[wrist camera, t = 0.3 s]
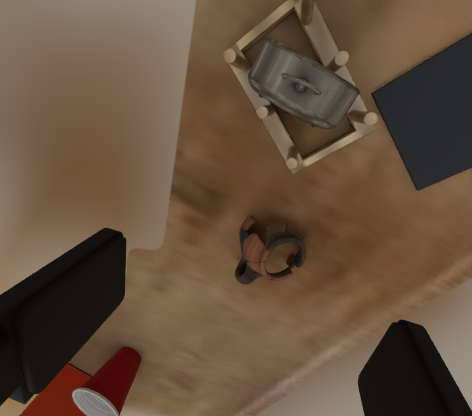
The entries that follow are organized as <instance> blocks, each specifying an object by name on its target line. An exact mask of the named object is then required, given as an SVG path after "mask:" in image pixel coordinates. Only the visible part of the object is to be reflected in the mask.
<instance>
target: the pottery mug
mask: <svg viewBox="0 0 472 416" xmlns="http://www.w3.org/2000/svg"><path fill="white" fill-rule="evenodd" d="M254 223H255V221H254V219H253V218H252V217H249V218H248V219H247V220H246V221H245V222H244V223H243V225H242V227H241V229H240V242H241V251H242V255H243V256H242V259H241V261H240V262H239V264H238V266H237V268H236V271H235V277H236V279H237V281H238V282H239V283H241V284H250V283H251V282H253V281H254V280H255V279H256V278H258V277H262V276H264V277H265V278H267V279H268V280H272V281H280V280H284V279H286V278H289V277H290V276H292V275H293V273H292V271H291V269H292V268H294V266H295V265H296V267H297V268H299V267H301V266H302V265H303V263H304V260H305V257H306V249H305V246H304V244H303V240H302V238H301V235H300V234H299V233H298V232H297V231H295V230H294V229H293V228H292V226H291V225H290V224H288V223H287V224H286V230H285V232H284V233H283V231H282V230H280V229H279V228H276V227H274V226H272V225H269V226H266V227H265V230H266V232H267V233H266V240H265V244H264V243H263V242H262V241H261V240H260V238H259V237H258V235H257V234H254V233H252V234H251V235H249V234H248V233H247V231H248V229H249V228H250V227H251V226H252V225H253V224H254ZM286 242H292V243H295V244H297V245H298V248H299V251H298V253H297V254H296V255H292V254H291V255H290V256H289V257H288V259H287V261H286V263H287V265H289V267H288V268H287V269H285V270H283V271H281V272H279V273H269V272H267V270H266V268H265V261H266V259H267V257H268V255H269V253H270V251H272V250H273V249H274V248H275V247H276V246H278V245H280V244H283V243H286Z"/></svg>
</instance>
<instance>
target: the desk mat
mask: <svg viewBox="0 0 472 416" xmlns="http://www.w3.org/2000/svg"><path fill="white" fill-rule="evenodd" d="M372 96H373V98H374V100H375V102H376V104H377V107H378V109H379V111H380V113H381V115H382V117H383V119H384V121H385V124H386V126H387V128H388V130H389V132H390V134H391V136H392V138H393V141H394V143H395V145H396V147H397V149H398V151H399V153H400V155H401V158H402V160H403V162H404V164H405V166H406V168H407V170H408V172H409V174H410V177H411V179H412V181H413V183H414V185H415V187H416V189H417V190H421V189H423V188H425V187H428V186H430V185H432V184H435V183H437V182H439V181H442V180H444V179H446V178H449V177H451V176H453V175H456V174H458V173H460V172H463V171H465V170H467V169H469V168H472V34H470V35H468V36H467V37H465V38H463V39H462V40H460V41H458V42H457V43H455V44H453V45H452V46H450V47H448V48H447V49H445V50H443V51H442V52H440V53H438V54H437V55H435V56H433V57H432V58H430V59H428V60H427V61H425V62H423V63H422V64H420V65H418V66H417V67H415V68H413V69H412V70H410V71H408V72H407V73H405V74H403V75H402V76H400V77H398V78H397V79H395V80H393V81H392V82H390V83H388V84H387V85H385V86H383V87H382V88H380V89H378V90H377V91H375V92H373V93H372Z"/></svg>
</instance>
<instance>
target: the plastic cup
mask: <svg viewBox="0 0 472 416" xmlns="http://www.w3.org/2000/svg"><path fill="white" fill-rule="evenodd" d="M140 362H141V358H140V356H139V354H138V353H137V352H136V351H135V350H133V349H131V348H128V347H124V348H122V349H120V350H119V351H118V352H117V353H116V354H115V355H114V356H113V357H112V358H111V359H110V360H108V361H107V362H106V363H105V364H104V365H103V366H102V367H101V368H100V369H99V370H98V371H97V372H96V373H95V374H94V375H93V376H92V377H91V378H90V379H89V380H88V381H87V382H86V383H85V384H83V385H82V386H81V387H79V388H78V389H75V390H74V391H73V394H72V397H73V400H74V402H75V403H76V405H77V406H78V408H79V409H80V410H81V411H82V412H84V413H85V414H86V415H87V416H120V412H121V410H122V407H123V405H124V401H125V399H126V397H127V394H128V392H129V390H130V387H131V385H132V383H133V380H134V378H135V375H136V372H137V370H138V368H139V365H140Z"/></svg>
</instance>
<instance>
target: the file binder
mask: <svg viewBox="0 0 472 416" xmlns="http://www.w3.org/2000/svg"><path fill="white" fill-rule="evenodd" d="M90 378H91V377H90V376H88V375H86V374H85V373H83V372H81V371H80V370H78V369H76V368H74V367H73V366H71V365H69V364H66V366H65V367H64V368H63V369H62V370H61V371H60V372H59V374H58V375H57V376H56V377H55V378H54V379H53V380H52V381H51V383H50V384H49V385H48V386H47V387H46V388H45V389H44V390H43V391H42V392H41V393H39V394H38V396H37V397H36V398H35V399H34V400H33V401H32V402H31V403H30V404H29V405H28V407H27V408H26V409H25V410H24V411H23V413H22V414H21V415H20V416H87V415H86V414H85V413H84V412H82V411H81V410H80V409H79V408H78V406H77V405H76V403H75V402H74V400H73V397H72V394H73V391H74V390H75V389H78V388H79V387H81V386H82V385H83V384H85V383H86V382H87V381H88V380H89V379H90Z"/></svg>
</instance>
